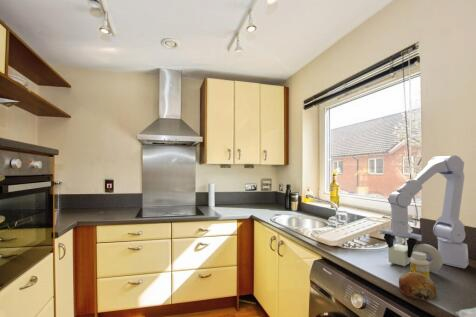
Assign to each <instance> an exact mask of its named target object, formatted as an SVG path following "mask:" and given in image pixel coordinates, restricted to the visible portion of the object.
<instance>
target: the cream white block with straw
mask: <svg viewBox="0 0 476 317" xmlns="http://www.w3.org/2000/svg"><path fill="white" fill-rule="evenodd" d="M411 227H412V226H410V224H409V223H408V232H409V233H413V232H414V231H413V230H414V229H413V228H411ZM394 239H395V244H400V245H405V246H407V240H408V238H403V237H397V236H394Z"/></svg>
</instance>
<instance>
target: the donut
mask: <svg viewBox="0 0 476 317" xmlns="http://www.w3.org/2000/svg"><path fill="white" fill-rule="evenodd" d="M412 252H422V253H425V254H427V255H429V256H430V259H431V260H430V261H428V262H429V273H432V272H437V271H439V270H440V269H441V268H442V266H443V264H442V263H443V259H442V256H441V254H440V252H439V251H438V248H435V246H433V245H430V244H427V243H419V244H417V245H415V246H414V248H413V251H412ZM412 258H413V256H412Z"/></svg>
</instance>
